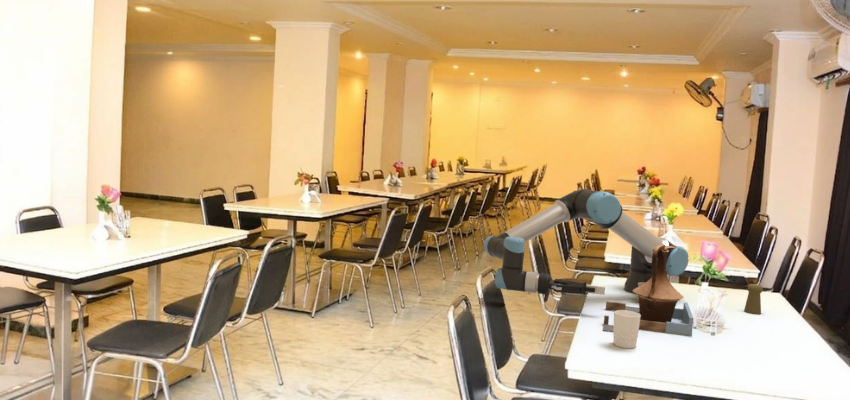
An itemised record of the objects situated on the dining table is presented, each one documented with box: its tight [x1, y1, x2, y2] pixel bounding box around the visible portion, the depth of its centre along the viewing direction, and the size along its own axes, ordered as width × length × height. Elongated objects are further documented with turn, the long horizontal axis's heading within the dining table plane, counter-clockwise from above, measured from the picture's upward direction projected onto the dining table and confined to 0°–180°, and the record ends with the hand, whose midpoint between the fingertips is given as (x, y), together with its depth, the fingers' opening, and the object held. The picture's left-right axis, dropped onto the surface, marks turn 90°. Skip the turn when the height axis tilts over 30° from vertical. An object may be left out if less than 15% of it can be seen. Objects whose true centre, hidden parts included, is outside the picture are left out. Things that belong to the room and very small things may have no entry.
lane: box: [603, 300, 666, 334], centre depth 249 cm, size 20×24×3 cm
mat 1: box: [602, 323, 614, 333], centre depth 235 cm, size 10×8×1 cm
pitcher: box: [633, 244, 685, 323], centre depth 247 cm, size 18×17×28 cm
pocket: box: [665, 301, 694, 337], centre depth 246 cm, size 8×24×6 cm, turn 164°
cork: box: [743, 283, 763, 315], centre depth 274 cm, size 6×6×11 cm
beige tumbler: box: [612, 310, 641, 349], centre depth 217 cm, size 8×8×10 cm
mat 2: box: [625, 305, 639, 313], centre depth 265 cm, size 10×8×1 cm
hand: (604, 290), depth 252 cm, fingers closed
